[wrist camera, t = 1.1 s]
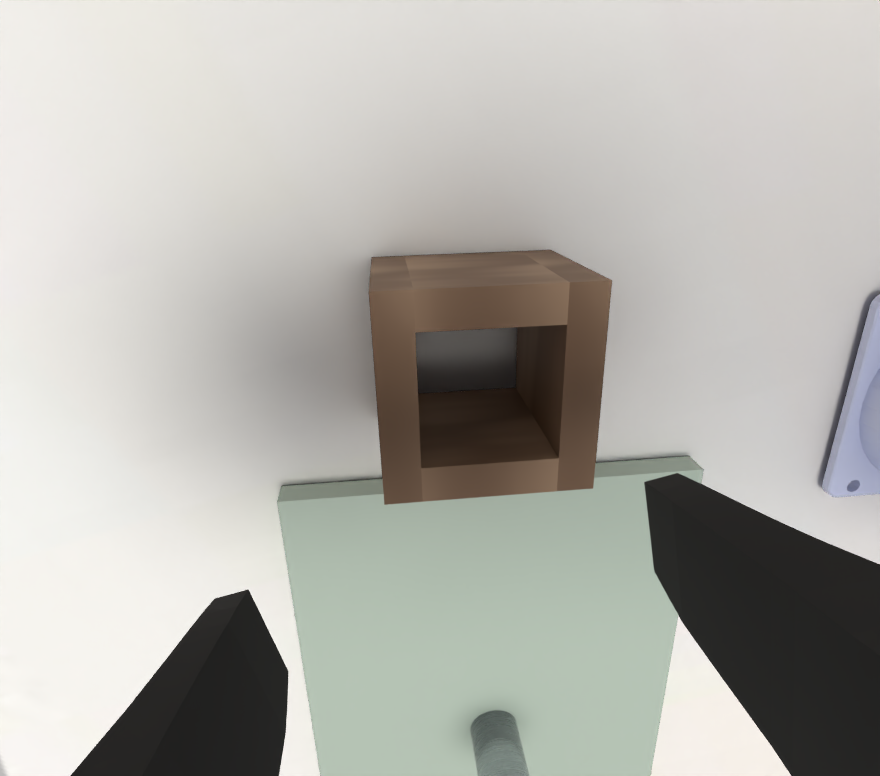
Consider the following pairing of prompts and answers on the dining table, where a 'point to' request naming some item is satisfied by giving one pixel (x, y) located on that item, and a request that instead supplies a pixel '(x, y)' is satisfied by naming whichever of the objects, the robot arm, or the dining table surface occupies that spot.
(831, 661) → the robot arm
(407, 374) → the walnut collar
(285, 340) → the dining table surface
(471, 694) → the sage board
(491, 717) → the grey steel post
